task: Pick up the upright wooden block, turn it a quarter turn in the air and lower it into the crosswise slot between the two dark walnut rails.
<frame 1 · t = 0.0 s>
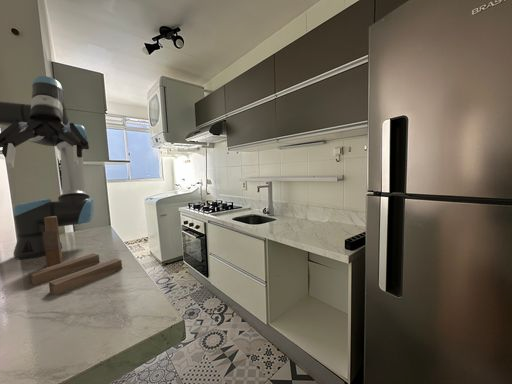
hand: (44, 164, 61), 36 cm above the worktop, tool tilted 35°, fingers open, 13 cm apart
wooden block: (55, 266, 81), on the worktop
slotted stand: (78, 275, 71), on the worktop
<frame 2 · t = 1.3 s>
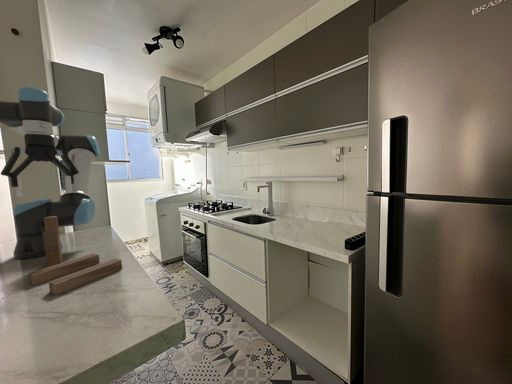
hand: (46, 194, 78), 27 cm above the worktop, tool pointing down, fingers open, 13 cm apart
nothing on the worktop moved.
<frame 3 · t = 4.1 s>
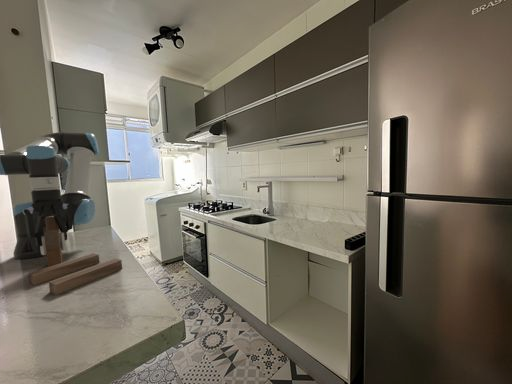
hand: (53, 251, 80), 5 cm above the worktop, tool pointing down, fingers closed on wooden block, 5 cm apart
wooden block: (56, 265, 81), on the worktop, touching gripper
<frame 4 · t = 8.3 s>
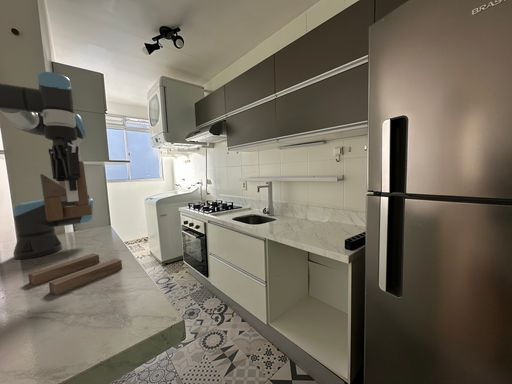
hand: (69, 201, 69), 25 cm above the worktop, tool pointing down, fingers closed on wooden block, 4 cm apart
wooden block: (70, 218, 69), point 19 cm above the worktop, touching gripper
when the fingers open (6 cm above the worktop, at t = 12.8 s): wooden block stays where it is, on the worktop.
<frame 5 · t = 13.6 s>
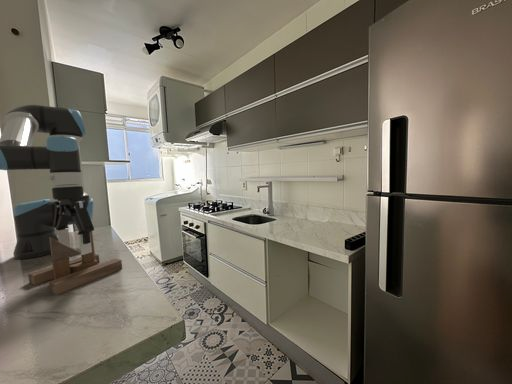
hand: (75, 251, 71), 8 cm above the worktop, tool pointing down, fingers open, 13 cm apart
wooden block: (77, 276, 71), on the worktop
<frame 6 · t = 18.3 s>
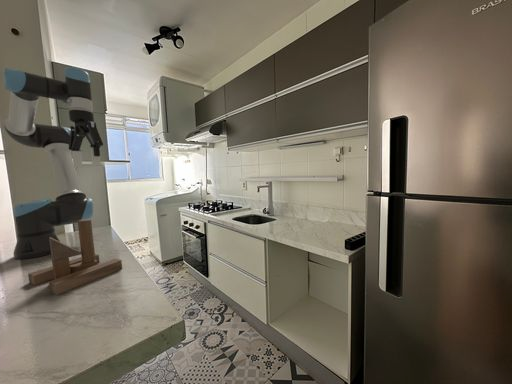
hand: (87, 166, 86), 37 cm above the worktop, tool pointing down, fingers open, 13 cm apart
nothing on the worktop moved.
at the end: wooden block inside the target area on the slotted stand (0.4 cm from its centre), point 0.0 cm above the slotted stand's base; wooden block tilted 0°; the gripper is holding nothing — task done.
